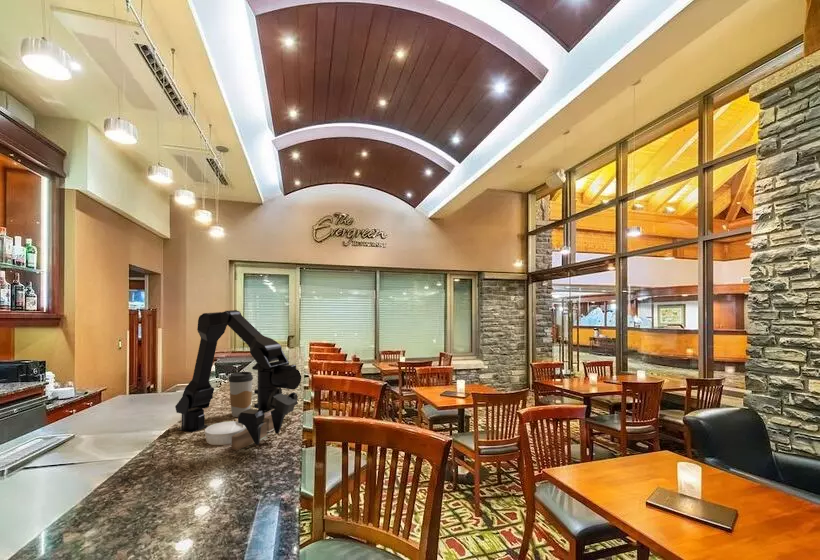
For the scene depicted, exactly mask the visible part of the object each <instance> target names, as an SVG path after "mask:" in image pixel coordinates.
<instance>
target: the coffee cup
mask: <svg viewBox="0 0 820 560" xmlns="http://www.w3.org/2000/svg"><path fill="white" fill-rule="evenodd" d="M253 377H254V376H253V373H252V372H251V371H236V372H232V373H230V375H229V377H228V382H229V384H228V385H229V400H230V401H229V402H230V410H231V411H230V413H231V415H232V417H234V418H238V415H239V414H240V413H241V412H243V411H245V410H248V409H251V406H252V405H251V404H252V393H253V390H252V389H253V379H254V378H253Z"/></svg>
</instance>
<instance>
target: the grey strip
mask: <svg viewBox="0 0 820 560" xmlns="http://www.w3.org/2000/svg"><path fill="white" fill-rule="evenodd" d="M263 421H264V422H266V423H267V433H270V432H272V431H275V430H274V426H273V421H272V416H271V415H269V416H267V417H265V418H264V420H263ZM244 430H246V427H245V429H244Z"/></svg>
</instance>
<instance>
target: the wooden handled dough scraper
mask: <svg viewBox="0 0 820 560" xmlns="http://www.w3.org/2000/svg"><path fill="white" fill-rule="evenodd" d="M267 437H268V432H267V423H266V422H265V423H264V424H263V425H262V426H261V433H260V441H261V440H263V439H266V438H267ZM252 444H255V443H254V441H253V439H252V437H251V435H250V433H249V432H248V430H247V429H244V431H242V432H240V433H238V434H236V435H234V436H232V444H231V450H234V451H239V450H241V449H243V448H246V447H248V446H250V445H252Z"/></svg>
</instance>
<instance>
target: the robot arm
mask: <svg viewBox="0 0 820 560" xmlns="http://www.w3.org/2000/svg"><path fill="white" fill-rule="evenodd" d="M227 327H229V328H230V329H231V330H232V331H233V332H234V334H236V335H237V336H238V337H239V338H240V339H241V340H242V341H243V342H244V343H245V344H246V345H247V346H248V348H249V354H250V356H251V357H252V358H253V360H254V361H255V362H256V363H255V364H254V365H253V366H252V367H251V369H252V370H255V371H257V388H256V389H254V390H253V391H254V392H253V394H254V395H257V394H258V395H257V396H256V397H257V401H256V403H254V406H253V408H254V409H251V408H250V409H248V410H245V411H243V412H241V413H240V414H239V415H238V417H237V422H238V423H241V424H242V425H244V426H245V427H246V429H247V430H248V432H249V433H250V435H251V437H252V439H253V441H254V443H253V444H254V445H257V446H258V445H260V441H261V440H260V433H261V426H262V425H263V424H264V423H265V422H264V418H265V414H266V413H269V412H271V416H272V421H273V426H274V430H273V431H274V432H275V434H280V432H281V429H282V428H281V427H282V425H283V422H284V419H285V416H286V415H288V414H289V413H292V412H293V411H294V409H295V406H298V405H299V402H298V399H299V398H298V393H296V392H291V393H289V394H287V393H286V394H284V393H283V390H282V389H284V390H285V389H287V390H296V389H297V388H298V387H299V386H300V384H301V383H302V375H301V372H300V370H299V369H297V365H296V364H290V362H289V360H288V358H287V357H286V355H285V353H284V351H283V348H282V345H281V344H280V343H279V342H277V341H276V340H274V339H273V338H271V337H268V336H265V335H263V334H262V333H261V332H260V331H259V330H258V329H257V328H255V327H254V325H252V324H251V322H249V321H248V319H246V318H245V317H244V316H243V315H242V313H241V311H240V310H237V309H234V310H232V309H230V310H225V311H217V312H204V313H201V315H199V316H198V320H197V327H196V328H197V329H196V330H197V333H198V335H199V337H200V341H199V345H198V350H197V355H196V359H195V364H194V369H193V375H192V379H191V380H190V382H189V383H187V385H186V386H185V388H184V391H183V393H182V396H181V398H180V399H179V400H178V402H177V403H176V405H175V406H174V407H175V412H176V414H181V427H180V428H177V431H179V430H180V431H181V432H186V433H196V432H198V431H200V430H203V429H206V428H207V427H209V425H208V424H206V423H205V422H206V421H205V419H206V416H205V409H208V408H209V406H210V404H211V401H212V399H213V398H214V397H213V396H214V395H213V394H214V392H215V387H214V386H212V385H211V383H210V377H211V375H212V374H211V372H212V369H213V365H214V360H215V354H216V350H217V346H218V345H217V344H218V341H219V340H220V338H222V336H223V335H224V334H225V332H226V330H227ZM246 429H245V430H246ZM180 431H179V432H180Z"/></svg>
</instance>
